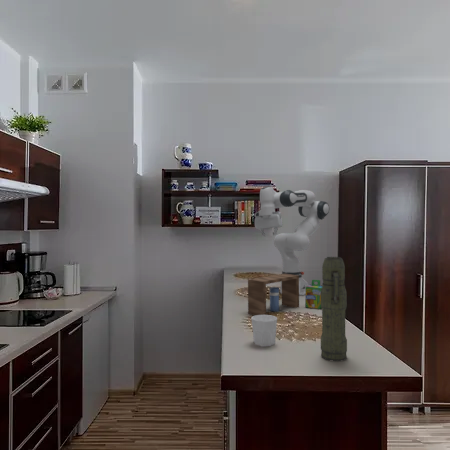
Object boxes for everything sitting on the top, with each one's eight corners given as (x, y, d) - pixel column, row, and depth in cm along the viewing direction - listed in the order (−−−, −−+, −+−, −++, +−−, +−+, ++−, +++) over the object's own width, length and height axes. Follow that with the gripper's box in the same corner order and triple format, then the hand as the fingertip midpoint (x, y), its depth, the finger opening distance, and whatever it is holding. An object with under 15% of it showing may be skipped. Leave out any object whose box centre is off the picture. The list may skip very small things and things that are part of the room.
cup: (260, 337, 160) (260, 313, 160) (282, 342, 153) (281, 317, 153) (246, 343, 152) (246, 318, 152) (268, 349, 146) (268, 322, 146)
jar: (273, 308, 210) (273, 286, 210) (280, 310, 207) (280, 287, 207) (267, 310, 207) (267, 287, 207) (275, 311, 203) (274, 288, 203)
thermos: (341, 350, 143) (341, 255, 143) (351, 362, 131) (351, 259, 131) (317, 350, 143) (316, 255, 143) (325, 362, 131) (325, 259, 131)
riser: (284, 304, 221) (284, 273, 221) (299, 307, 214) (298, 275, 213) (248, 313, 200) (247, 279, 200) (262, 317, 193) (262, 281, 193)
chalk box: (305, 307, 212) (304, 280, 212) (309, 304, 220) (309, 278, 220) (322, 309, 208) (321, 281, 208) (326, 306, 216) (326, 279, 216)
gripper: (284, 211, 230) (285, 234, 229) (259, 214, 246) (260, 236, 245) (277, 210, 226) (278, 234, 225) (252, 214, 242) (253, 236, 241)
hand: (269, 235), depth 235 cm, fingers open, 8 cm apart
